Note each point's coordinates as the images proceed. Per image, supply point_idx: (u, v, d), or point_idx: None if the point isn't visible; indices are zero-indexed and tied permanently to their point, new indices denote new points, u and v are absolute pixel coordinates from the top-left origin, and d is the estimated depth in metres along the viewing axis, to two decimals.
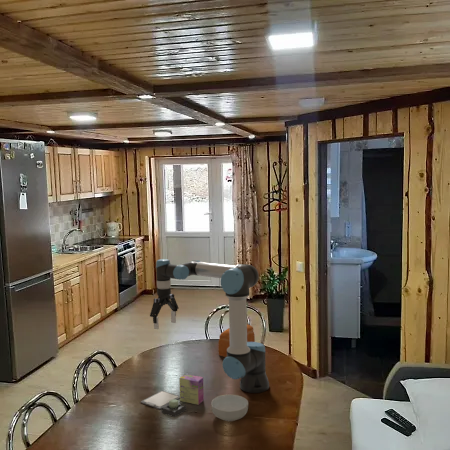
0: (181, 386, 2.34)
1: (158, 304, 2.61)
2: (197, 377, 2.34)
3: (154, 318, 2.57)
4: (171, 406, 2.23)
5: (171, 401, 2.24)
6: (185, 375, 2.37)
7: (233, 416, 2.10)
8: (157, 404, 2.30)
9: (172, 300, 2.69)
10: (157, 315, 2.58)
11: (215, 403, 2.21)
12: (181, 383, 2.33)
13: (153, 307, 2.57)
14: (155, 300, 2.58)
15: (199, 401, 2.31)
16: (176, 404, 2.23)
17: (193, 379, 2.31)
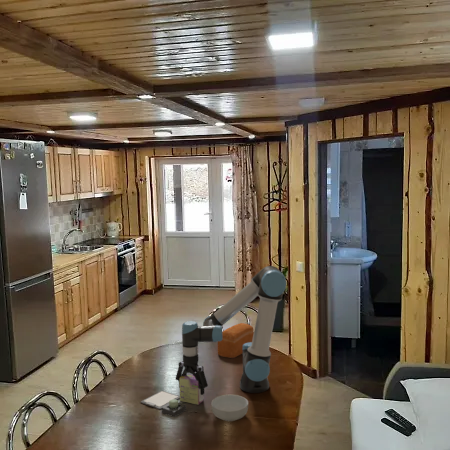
0: (181, 386, 2.34)
1: None
2: None
3: None
4: (171, 406, 2.23)
5: (171, 401, 2.24)
6: (185, 375, 2.37)
7: (233, 416, 2.10)
8: (157, 404, 2.30)
9: None
10: None
11: (215, 403, 2.21)
12: (181, 383, 2.33)
13: None
14: None
15: None
16: (176, 404, 2.23)
17: (193, 379, 2.31)
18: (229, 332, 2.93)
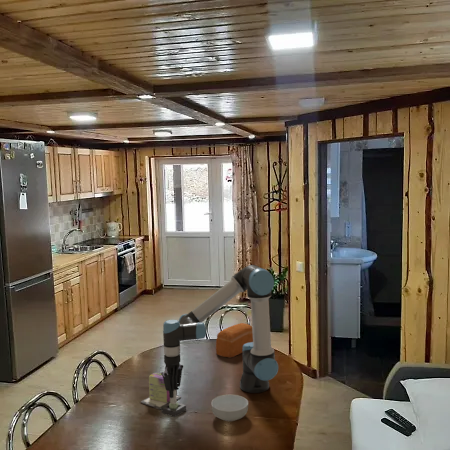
0: (150, 384, 2.35)
1: (168, 375, 2.22)
2: None
3: (171, 392, 2.22)
4: (171, 408, 2.23)
5: None
6: (155, 373, 2.38)
7: (233, 416, 2.10)
8: (157, 404, 2.30)
9: (178, 372, 2.26)
10: (173, 387, 2.22)
11: (215, 403, 2.21)
12: (150, 381, 2.35)
13: (165, 381, 2.20)
14: (163, 375, 2.18)
15: (168, 399, 2.32)
16: (176, 406, 2.23)
17: (162, 378, 2.32)
18: (227, 332, 2.93)
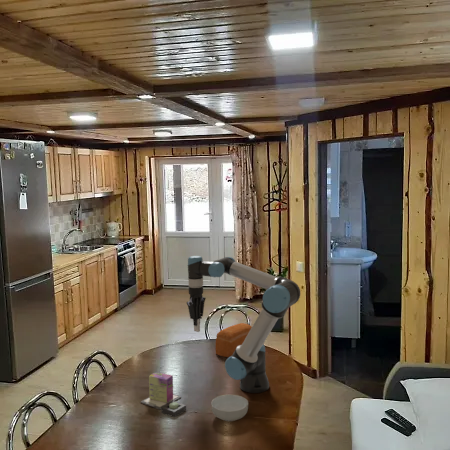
0: (150, 384, 2.35)
1: (193, 305, 2.47)
2: (166, 375, 2.35)
3: (195, 320, 2.47)
4: None
5: (171, 404, 2.24)
6: (155, 373, 2.38)
7: (233, 416, 2.10)
8: (157, 404, 2.30)
9: (201, 303, 2.51)
10: (197, 316, 2.47)
11: (215, 403, 2.21)
12: (150, 381, 2.35)
13: (190, 310, 2.45)
14: (188, 304, 2.43)
15: (168, 399, 2.32)
16: (176, 407, 2.23)
17: (162, 378, 2.32)
18: (226, 331, 2.94)
